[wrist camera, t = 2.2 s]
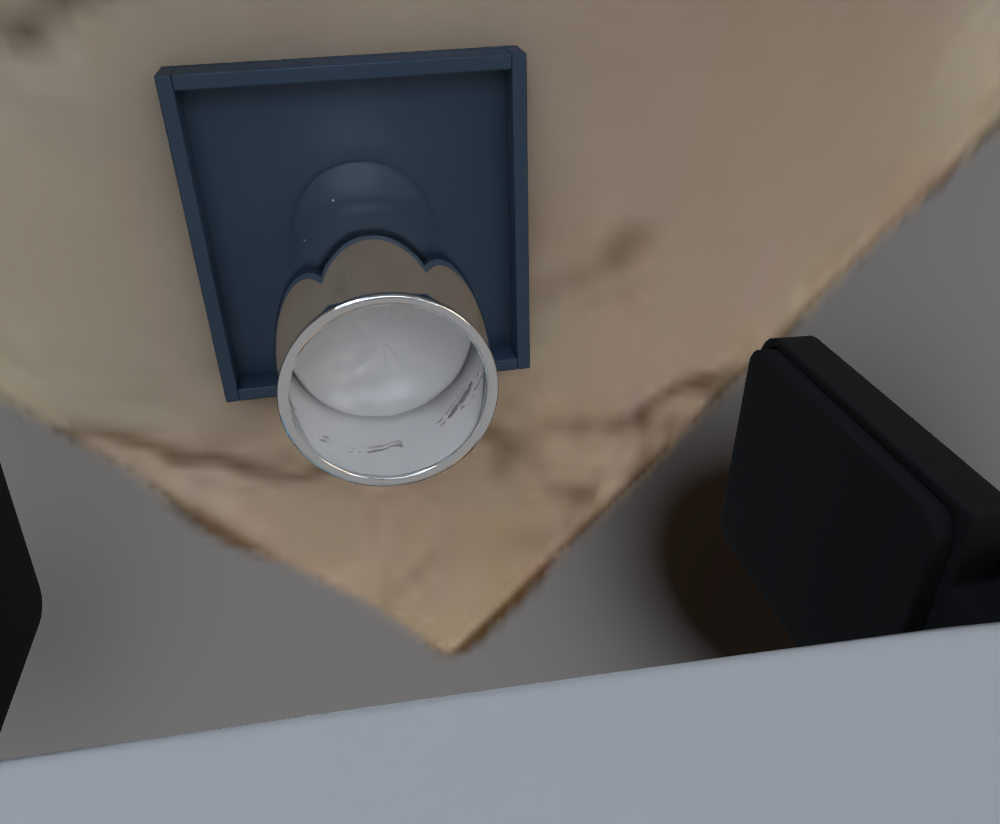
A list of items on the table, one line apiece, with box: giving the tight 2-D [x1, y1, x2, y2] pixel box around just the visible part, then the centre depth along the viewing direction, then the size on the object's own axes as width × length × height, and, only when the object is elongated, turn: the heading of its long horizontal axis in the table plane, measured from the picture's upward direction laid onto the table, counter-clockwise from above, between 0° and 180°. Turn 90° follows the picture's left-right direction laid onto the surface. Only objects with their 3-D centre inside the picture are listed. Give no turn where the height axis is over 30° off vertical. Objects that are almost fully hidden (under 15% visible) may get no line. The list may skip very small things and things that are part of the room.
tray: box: [154, 46, 530, 402], centre depth 38 cm, size 14×14×2 cm
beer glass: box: [274, 161, 498, 486], centre depth 32 cm, size 7×7×15 cm
